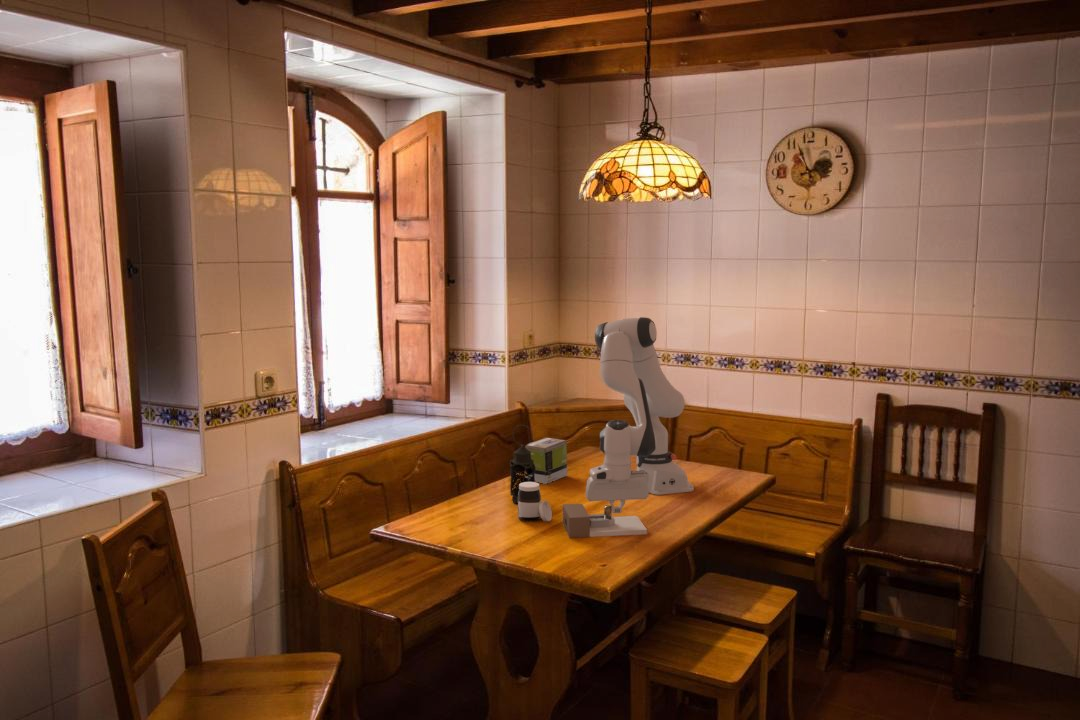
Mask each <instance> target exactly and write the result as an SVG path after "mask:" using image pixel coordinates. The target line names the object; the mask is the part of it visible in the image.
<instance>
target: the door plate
mask: <svg viewBox="0 0 1080 720" xmlns="http://www.w3.org/2000/svg"><path fill="white" fill-rule="evenodd" d="M602 517H604V513H599V514H593V513H592V514H589V513H588V512H587V509H586V507H585V506H584V504H583V503H566V504H565V503H564V504H563V503H562V525H563V528H564V530H565V532H566V534H567V535H568V536H567V537H568V538H569V539H570V538H571V539H572V538H575V539H576V538H592V537H593V538H597V537H615V536H616V537H617V536H638V535H639V536H640V535H641V536H642V535H647V534H648V529H647V527H645V525H644V523H643V522H642V521H641V520H640V518H639V517H638V515H629V516H628V515H627V516H613V517H614V519H615V525H609V519H590V518H602Z"/></svg>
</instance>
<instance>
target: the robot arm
mask: <svg viewBox="0 0 1080 720" xmlns="http://www.w3.org/2000/svg"><path fill="white" fill-rule="evenodd" d="M657 334H658V333H657V327H656V324H655V322H654V320H652V319H651V318H649V317H645V316H644V317H643V316H642V317H641V316H640V317H631V318H630V317H629V318H622V319H619V320H614V321H609V322H607V321H606V322H602V323H600V324H599V325H598V326H597V327H596V329H595V332H594V342H595V345H596V347H597V348H598V349H599V350H600V358H599V361H600V363H599V367H600V370H599V371H600V379H601V381H602V382H603V384H604V385H605V386H606V387H608V388H609V389H611V390H612V391H615V392H617V393H619V394H622V395H623V402H624V406H625V407H626V408H627V409H628V410H629V411H630V413H631V414H632V418H633V419H634V421H635V426H633V425H632V426H631V425H630V423H629V422H628V421H625V420H623V419H612V420H609V421H607V423H606V424H605V427H604V428H603V429H601V431H600V432H599V438H600V439H599V441H600V442H599V445H600V446H599V450H600V451H601V452H602V453H603V454H604V459H603V463H602V464H601V465H598V466H595V467H592V468H590V469H589V477H588V478H587V481H586V486H585V497H586V500H587V501H588V502H604V501H608V503H609V506H612V514H622V513H623V510H622V509H623V508H624V506H625V505H626V501H628V500H629V501H630V500H631V501H632V500H633V501H635V500H647V499H648V497H649V494H652V495H656V496H660V495H671V494H681V493H690V492H694V491H695V489H694V484H692V483H691V482H690V481H689V480H688V475H687V472H686V470H684V469H683V468H682V467H681V466H680V465H678V464H677V463H676V462H674V461H675V460H676V459H677V455H676V454H675V453H673V452H671V451H669V450H668V448H669V447H668V445H669V432H668V430H667V428H666V427H665V425H663V424H662V422H661V421H660V418H666V419H667V418H669V419H670V418H677V417H678V416H680V415H681V414H682V413H683V412H684V409H685V402H686V401H685V397H684V395H683V394H682V393H681V392H680V391H679V390H677V389H676V388H675V387H674V386H673V385H672V384H671V382H670V380H668V378H667V377H666V375H665V373H664V372H663V370H662V368H661V365H660V362H659V358H658V356H657V352H656V349H655V346H654V345H655V342H656V341H657V337H658V335H657ZM631 456H636V461H635V462H636V470H632V459H631ZM615 501H619V502H620V504H619V505H618V506H615V505H614V504H615Z"/></svg>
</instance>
